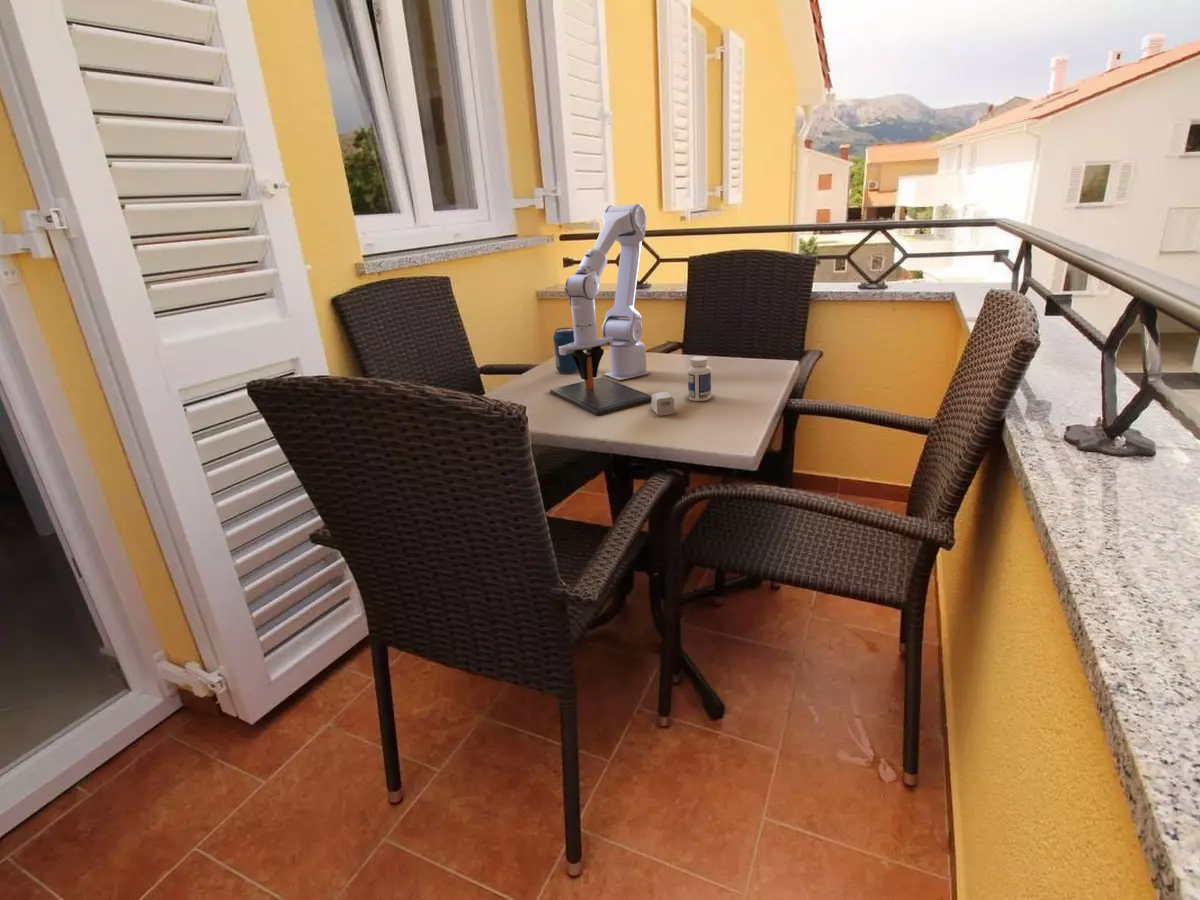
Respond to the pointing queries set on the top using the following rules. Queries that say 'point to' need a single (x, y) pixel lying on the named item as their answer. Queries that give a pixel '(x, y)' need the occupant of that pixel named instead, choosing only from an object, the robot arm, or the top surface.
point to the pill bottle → (699, 379)
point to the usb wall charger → (662, 403)
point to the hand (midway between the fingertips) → (589, 377)
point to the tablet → (601, 396)
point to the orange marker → (589, 372)
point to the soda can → (566, 361)
